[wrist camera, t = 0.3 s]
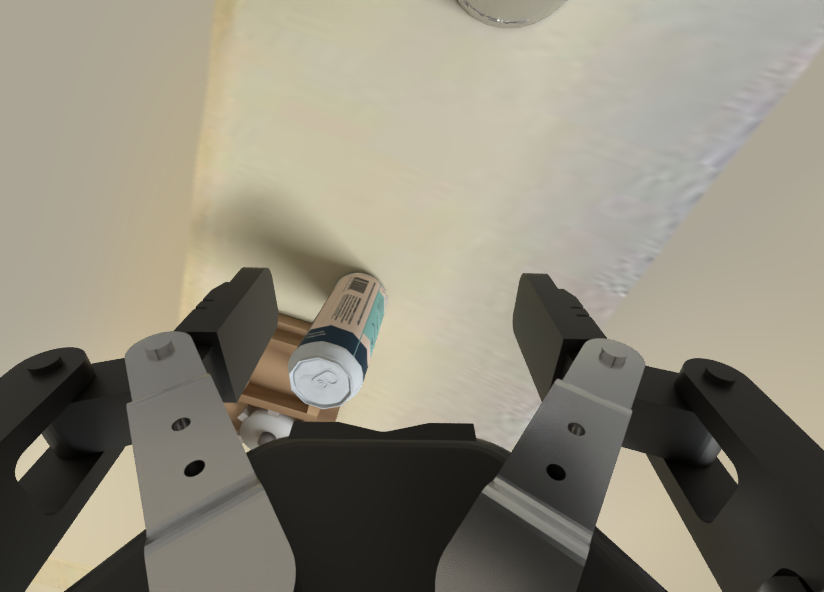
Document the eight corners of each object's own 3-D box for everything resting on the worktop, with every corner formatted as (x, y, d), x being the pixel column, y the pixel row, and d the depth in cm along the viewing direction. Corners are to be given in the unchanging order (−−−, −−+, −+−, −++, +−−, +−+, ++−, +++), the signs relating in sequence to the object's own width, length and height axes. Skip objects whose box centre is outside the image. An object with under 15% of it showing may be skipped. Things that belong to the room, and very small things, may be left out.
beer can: (323, 287, 34) (265, 372, 23) (366, 260, 32) (324, 338, 21) (357, 327, 35) (316, 424, 24) (399, 303, 34) (375, 395, 23)
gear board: (235, 299, 35) (214, 318, 32) (360, 338, 36) (351, 360, 33) (222, 426, 43) (204, 450, 40) (325, 456, 43) (315, 482, 40)
